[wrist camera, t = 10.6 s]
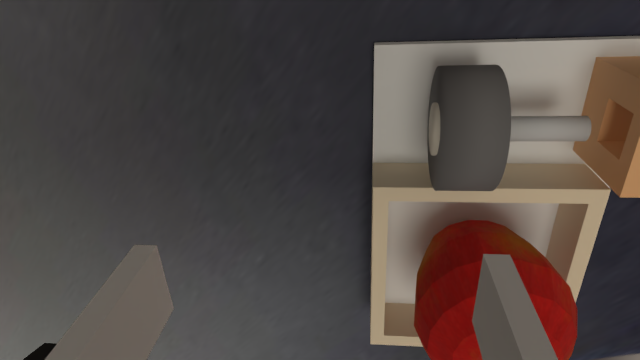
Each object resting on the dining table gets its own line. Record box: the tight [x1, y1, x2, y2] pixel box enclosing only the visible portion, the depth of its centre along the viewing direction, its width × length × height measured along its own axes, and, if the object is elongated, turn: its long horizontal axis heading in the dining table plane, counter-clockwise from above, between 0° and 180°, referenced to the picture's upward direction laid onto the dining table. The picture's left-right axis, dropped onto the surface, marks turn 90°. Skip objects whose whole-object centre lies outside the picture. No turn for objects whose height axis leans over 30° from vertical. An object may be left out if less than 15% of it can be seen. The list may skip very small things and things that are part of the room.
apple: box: [414, 220, 577, 360], centre depth 27 cm, size 9×9×12 cm
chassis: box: [370, 36, 640, 347], centre depth 28 cm, size 16×22×7 cm
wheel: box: [427, 65, 591, 191], centre depth 24 cm, size 8×7×7 cm
